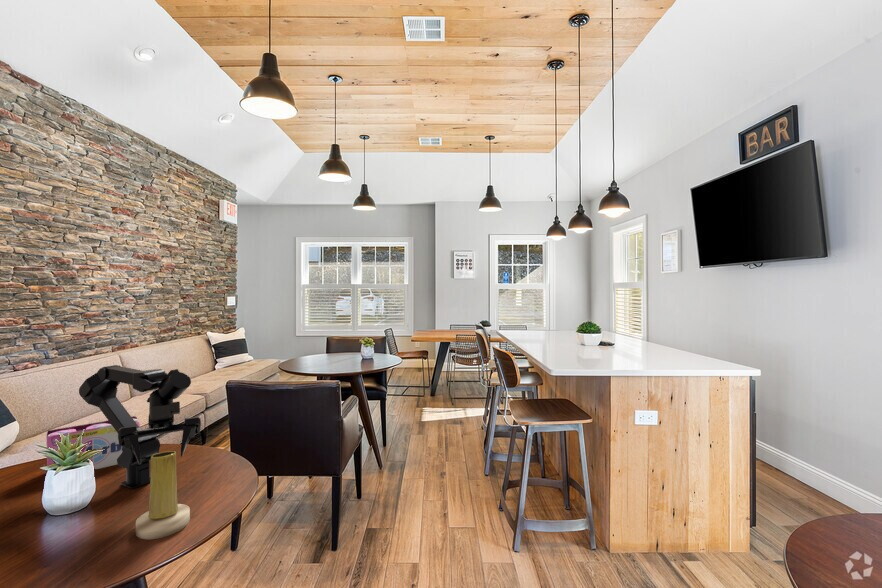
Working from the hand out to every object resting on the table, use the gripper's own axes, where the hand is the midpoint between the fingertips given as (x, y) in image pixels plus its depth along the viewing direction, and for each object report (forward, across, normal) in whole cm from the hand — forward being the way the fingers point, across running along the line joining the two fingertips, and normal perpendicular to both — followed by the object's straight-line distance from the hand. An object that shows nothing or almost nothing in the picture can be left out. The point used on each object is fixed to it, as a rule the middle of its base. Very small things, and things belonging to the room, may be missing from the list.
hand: (161, 459), depth 110 cm
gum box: (-22, -19, +41) cm, 50 cm away
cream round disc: (+17, +1, +2) cm, 17 cm away
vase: (+15, 0, 0) cm, 15 cm away
